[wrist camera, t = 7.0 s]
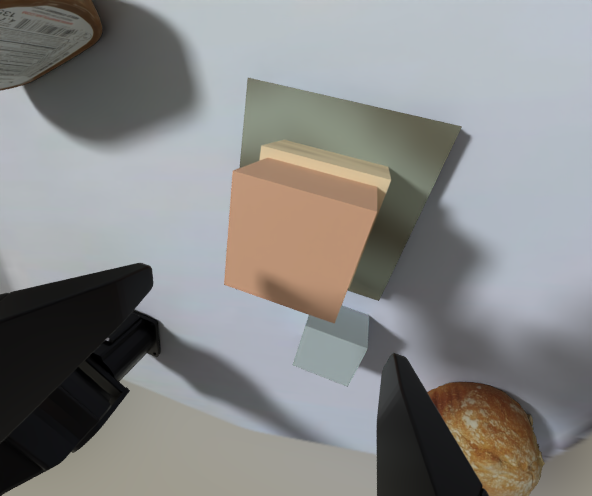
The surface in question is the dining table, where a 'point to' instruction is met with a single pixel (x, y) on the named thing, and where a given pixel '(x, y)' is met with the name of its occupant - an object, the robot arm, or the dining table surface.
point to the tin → (43, 36)
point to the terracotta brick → (296, 235)
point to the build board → (363, 141)
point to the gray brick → (334, 345)
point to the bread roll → (492, 436)
